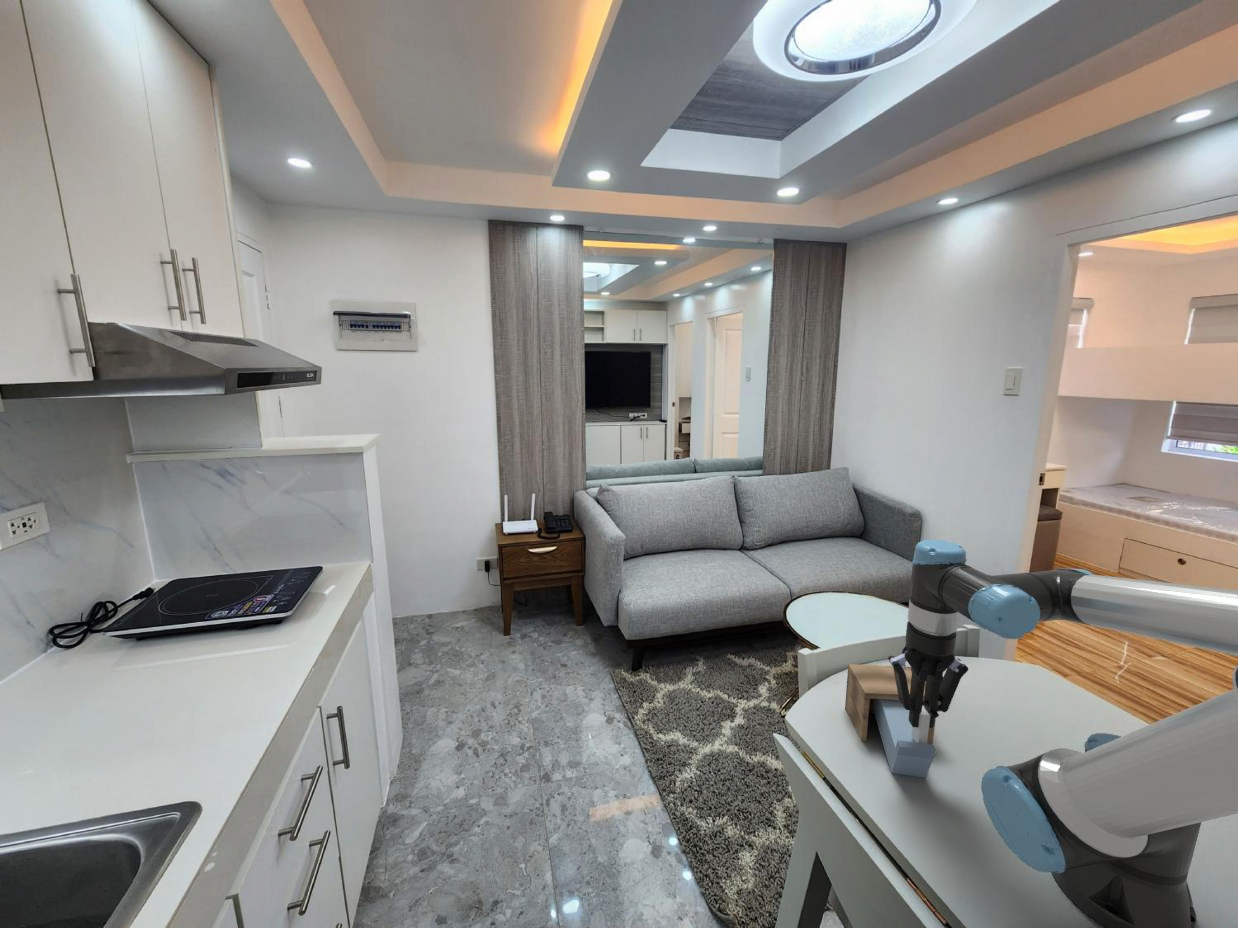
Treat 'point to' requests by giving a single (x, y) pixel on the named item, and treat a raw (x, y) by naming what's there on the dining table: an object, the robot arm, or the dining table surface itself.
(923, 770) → the lidded box
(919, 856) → the dining table surface
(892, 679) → the open wooden crate
